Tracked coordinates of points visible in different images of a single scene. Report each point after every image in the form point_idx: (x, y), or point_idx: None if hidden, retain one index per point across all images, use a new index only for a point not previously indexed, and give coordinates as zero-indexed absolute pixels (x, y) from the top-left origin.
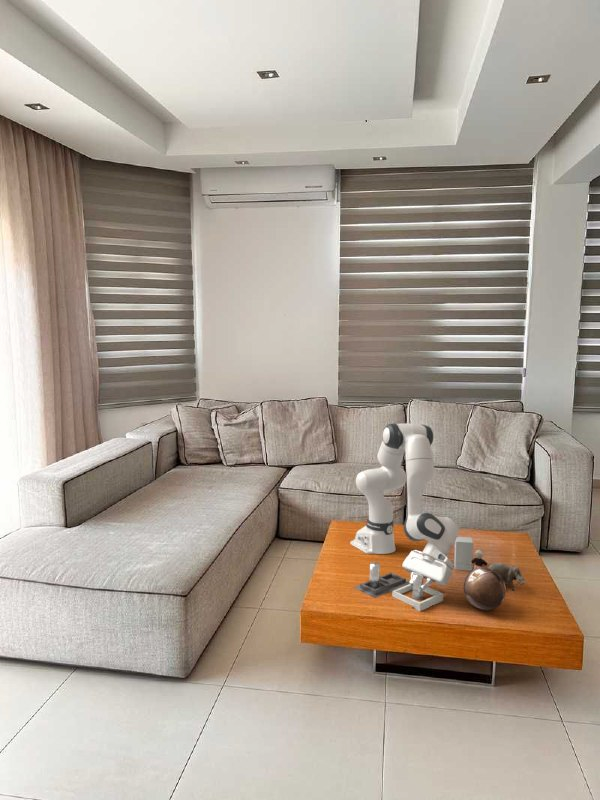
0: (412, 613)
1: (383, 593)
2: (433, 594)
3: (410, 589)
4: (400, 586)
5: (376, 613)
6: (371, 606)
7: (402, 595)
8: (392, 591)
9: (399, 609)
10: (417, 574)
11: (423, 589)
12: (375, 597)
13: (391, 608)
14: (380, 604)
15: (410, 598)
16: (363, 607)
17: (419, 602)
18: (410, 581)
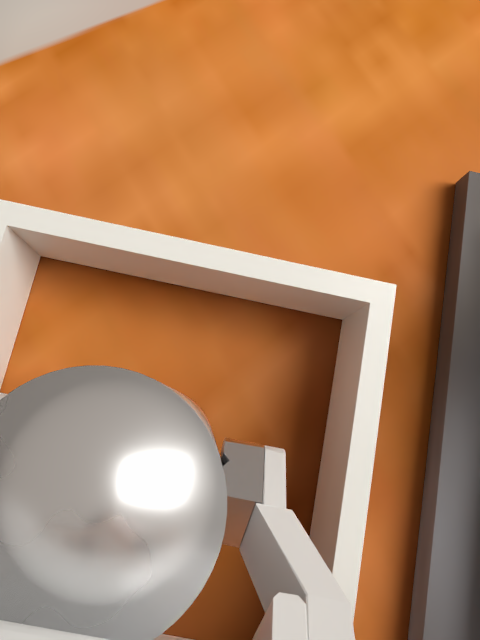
0: (66, 163)
1: (471, 298)
2: None
3: None
4: (447, 574)
5: (308, 5)
6: (408, 78)
7: (250, 260)
8: (392, 284)
9: (198, 162)
10: (109, 522)
11: None
12: (470, 179)
13: (262, 139)
14: (375, 148)
15: (138, 246)
16: (442, 32)
17: (5, 219)
18: (267, 463)
